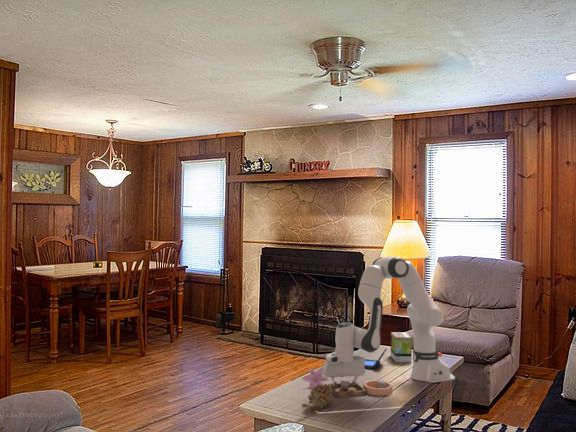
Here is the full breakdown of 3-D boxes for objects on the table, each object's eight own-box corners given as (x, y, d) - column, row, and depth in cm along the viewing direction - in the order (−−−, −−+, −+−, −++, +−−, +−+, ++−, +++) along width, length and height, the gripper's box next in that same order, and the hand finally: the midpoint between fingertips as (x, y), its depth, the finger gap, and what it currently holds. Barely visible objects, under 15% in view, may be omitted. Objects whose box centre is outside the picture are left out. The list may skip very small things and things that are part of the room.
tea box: (412, 362, 305) (412, 337, 305) (394, 362, 305) (395, 337, 305) (406, 355, 320) (406, 331, 320) (390, 355, 320) (390, 331, 320)
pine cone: (316, 400, 240) (316, 378, 240) (335, 404, 235) (336, 382, 235) (294, 416, 220) (294, 392, 220) (315, 420, 216) (315, 396, 216)
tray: (356, 387, 259) (356, 382, 259) (366, 396, 245) (366, 390, 245) (328, 389, 256) (328, 383, 256) (336, 398, 242) (336, 392, 242)
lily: (298, 389, 259) (300, 375, 254) (311, 375, 268) (313, 361, 263) (319, 400, 253) (320, 386, 249) (331, 385, 262) (333, 372, 257)
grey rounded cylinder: (384, 388, 254) (384, 380, 254) (387, 391, 250) (387, 383, 250) (376, 389, 253) (376, 381, 253) (379, 392, 249) (379, 383, 249)
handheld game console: (364, 361, 307) (364, 345, 308) (387, 363, 303) (387, 347, 303) (358, 368, 293) (358, 352, 293) (381, 371, 288) (382, 354, 288)
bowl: (385, 387, 259) (385, 379, 259) (395, 396, 246) (395, 388, 246) (360, 389, 256) (360, 381, 257) (369, 397, 244) (369, 389, 244)
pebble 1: (347, 387, 256) (347, 379, 256) (349, 390, 252) (350, 382, 252) (339, 388, 255) (339, 380, 255) (342, 390, 251) (342, 382, 251)
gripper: (362, 354, 259) (362, 382, 259) (322, 355, 255) (322, 384, 255) (366, 357, 252) (366, 386, 252) (326, 358, 249) (325, 388, 248)
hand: (344, 385), depth 253 cm, fingers open, 8 cm apart
